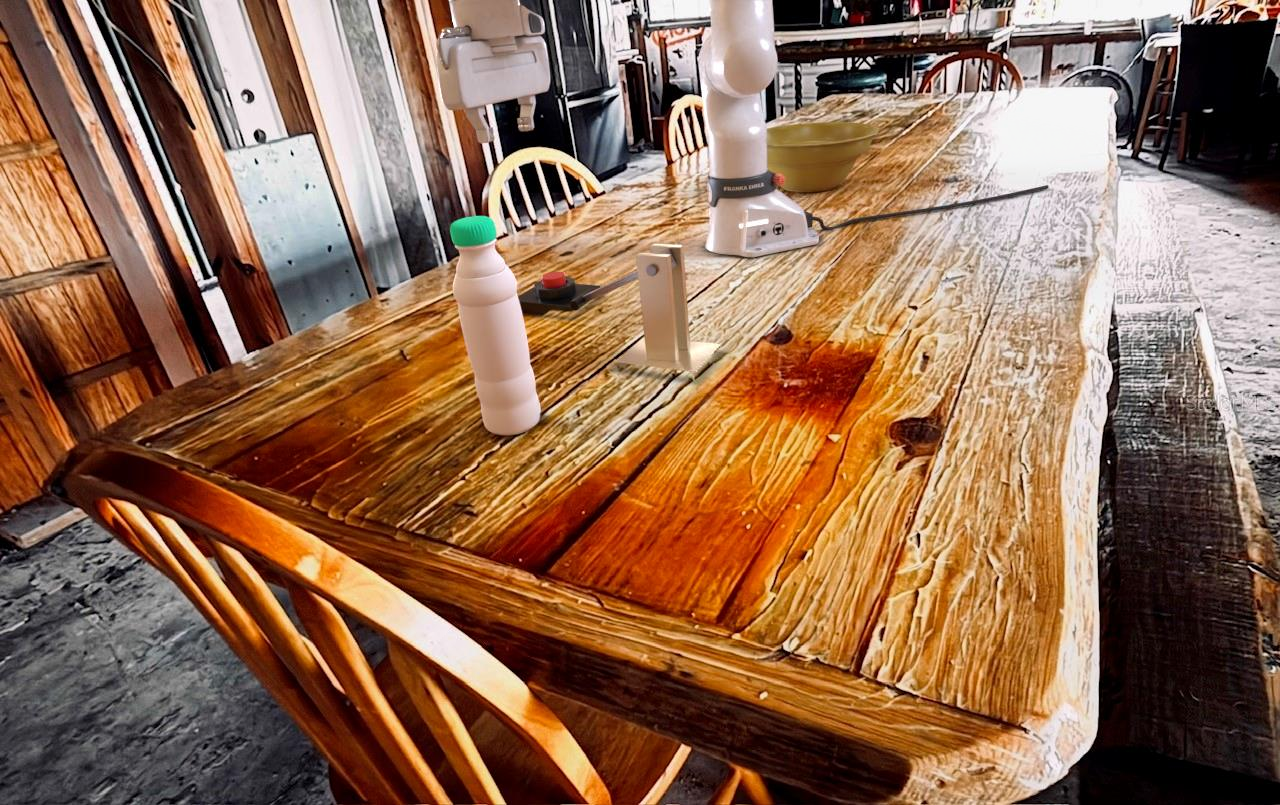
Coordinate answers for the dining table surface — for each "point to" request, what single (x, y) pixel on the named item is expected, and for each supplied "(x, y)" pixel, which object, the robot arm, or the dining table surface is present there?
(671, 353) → the bracket
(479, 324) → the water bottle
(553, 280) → the button
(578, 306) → the lever
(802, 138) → the planter bowl
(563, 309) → the control block
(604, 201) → the dining table surface
